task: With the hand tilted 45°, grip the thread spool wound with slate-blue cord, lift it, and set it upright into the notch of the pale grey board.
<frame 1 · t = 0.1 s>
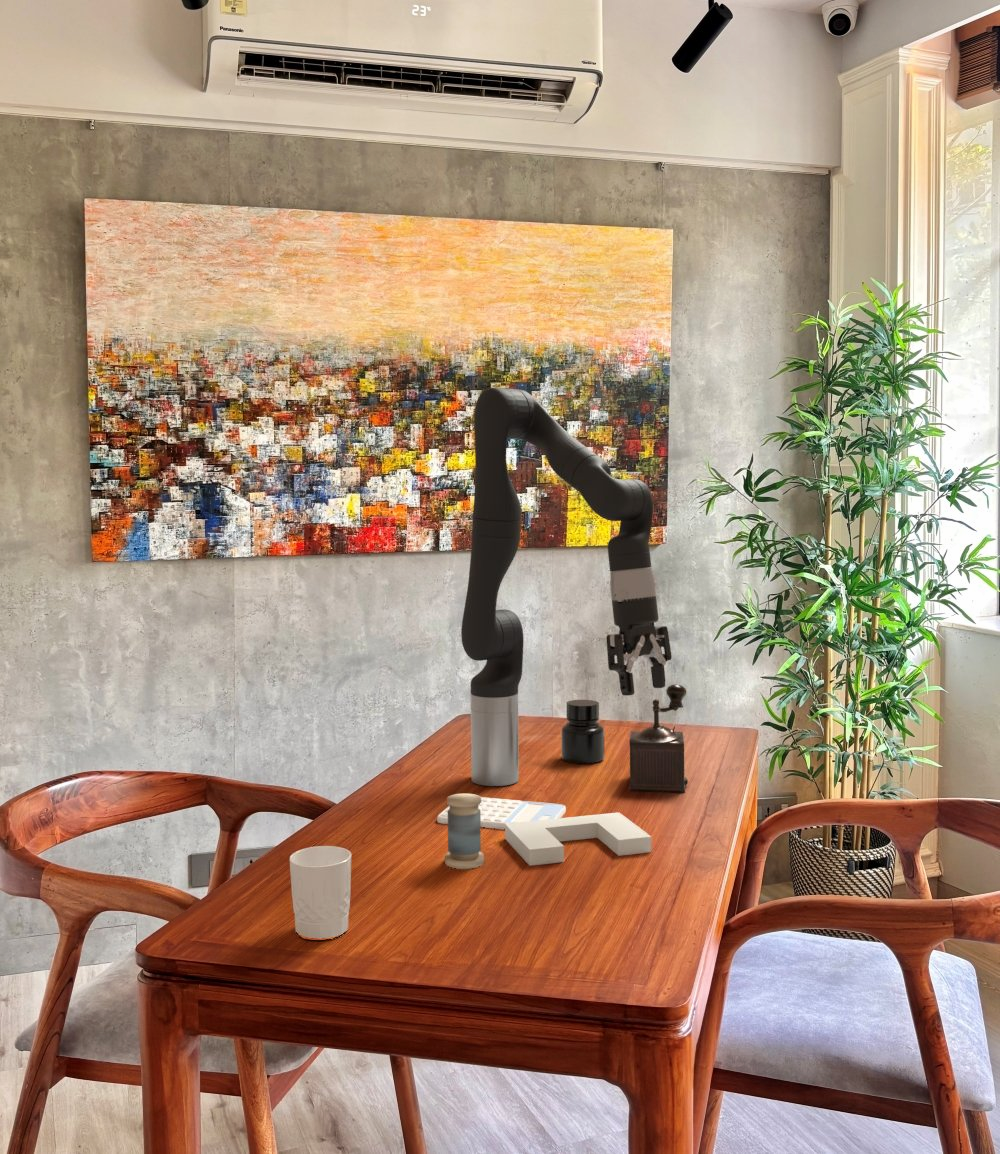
hand: (643, 691, 182), 22 cm above the table, tool pointing down, fingers open, 8 cm apart
calculator: (502, 820, 187), on the table
notched board: (576, 845, 172), on the table
thread spool: (464, 862, 165), on the table
ink bottle: (582, 760, 225), on the table
white cup: (322, 932, 140), on the table
manual coffee grinder: (658, 782, 209), on the table
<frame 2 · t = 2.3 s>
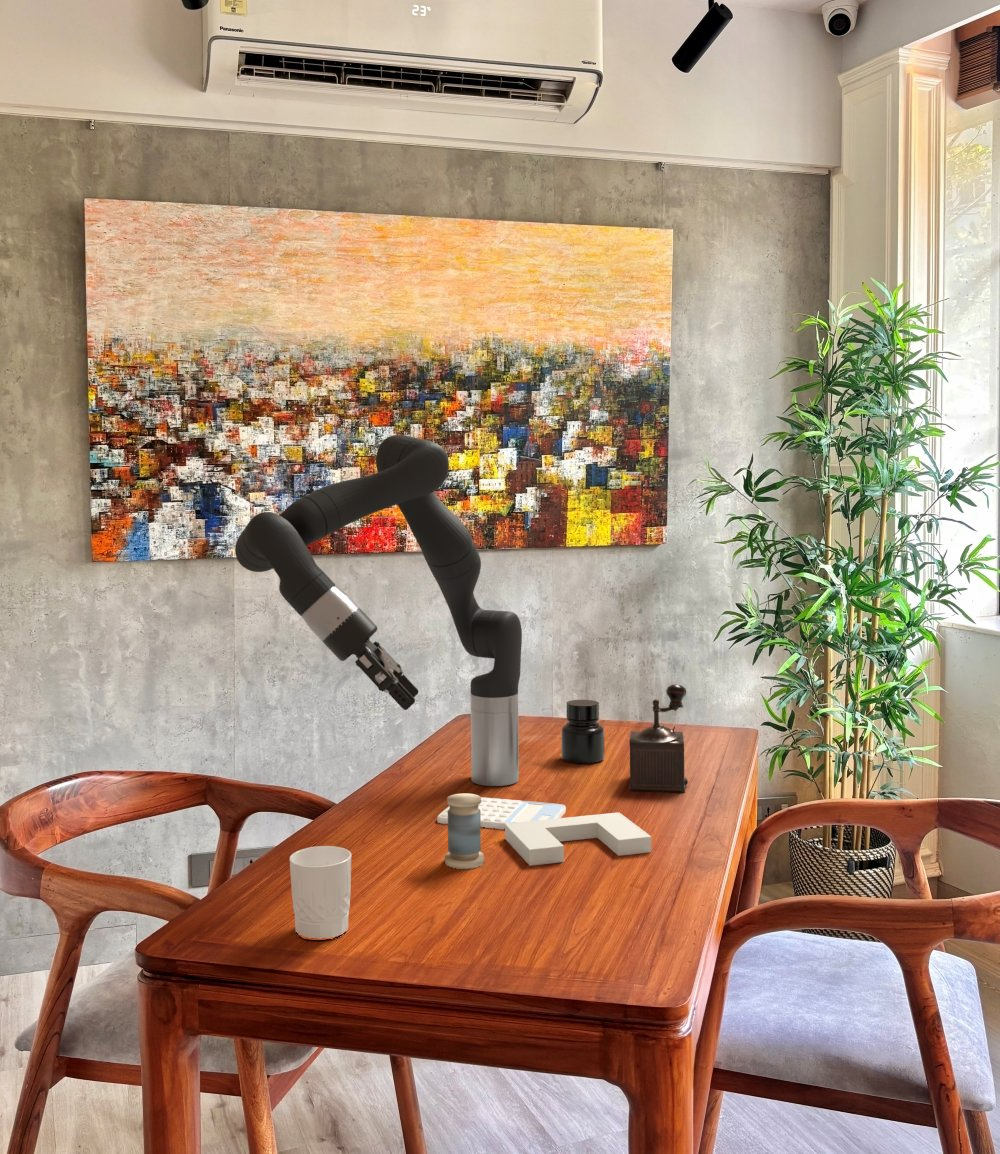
hand: (412, 701, 163), 25 cm above the table, tool tilted 40°, fingers open, 8 cm apart
nothing on the table moved.
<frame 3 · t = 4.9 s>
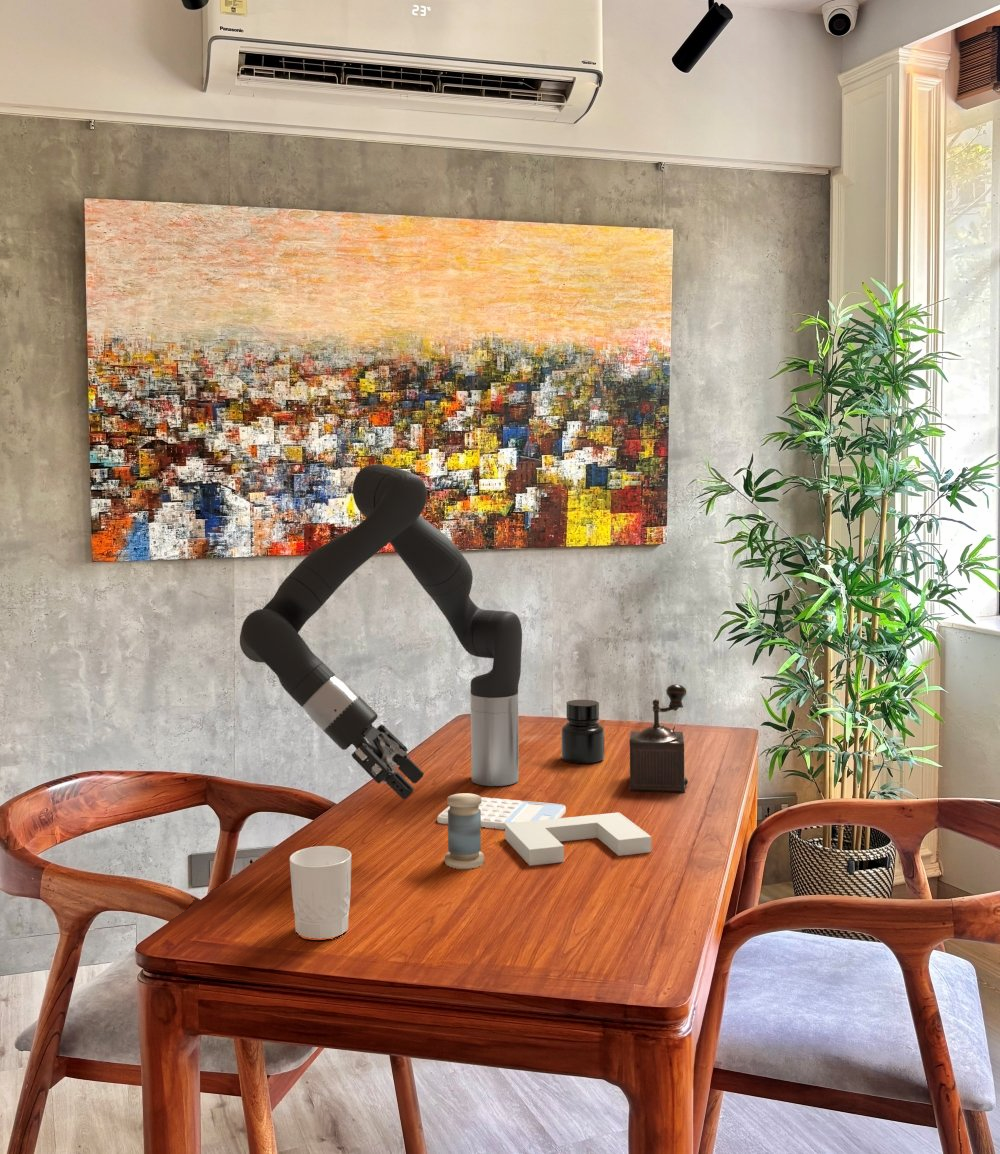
hand: (414, 786, 165), 12 cm above the table, tool tilted 45°, fingers open, 8 cm apart
nothing on the table moved.
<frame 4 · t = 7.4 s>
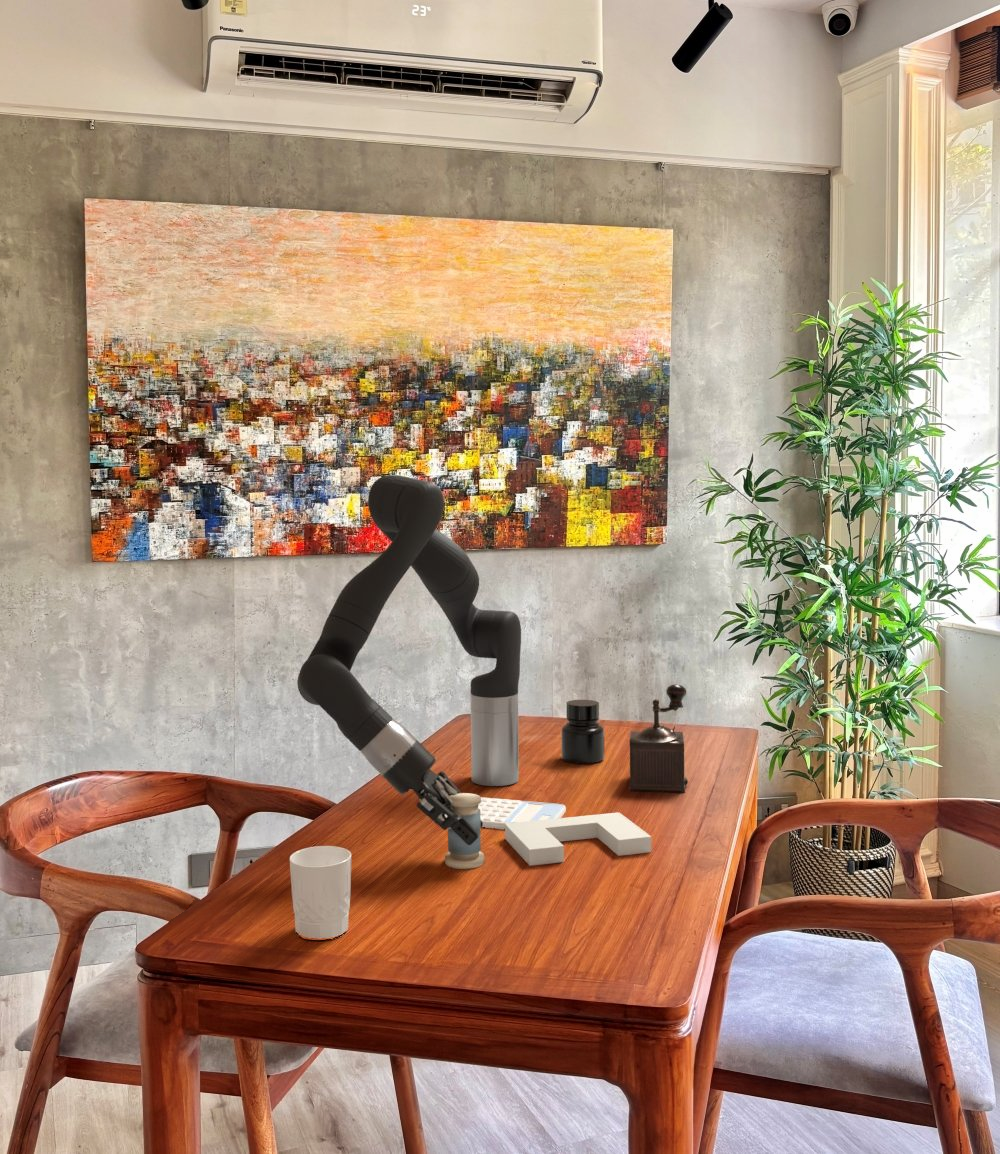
hand: (476, 834, 164), 4 cm above the table, tool tilted 45°, fingers closed on thread spool, 5 cm apart
thread spool: (464, 862, 165), on the table, touching gripper
everything else where it was.
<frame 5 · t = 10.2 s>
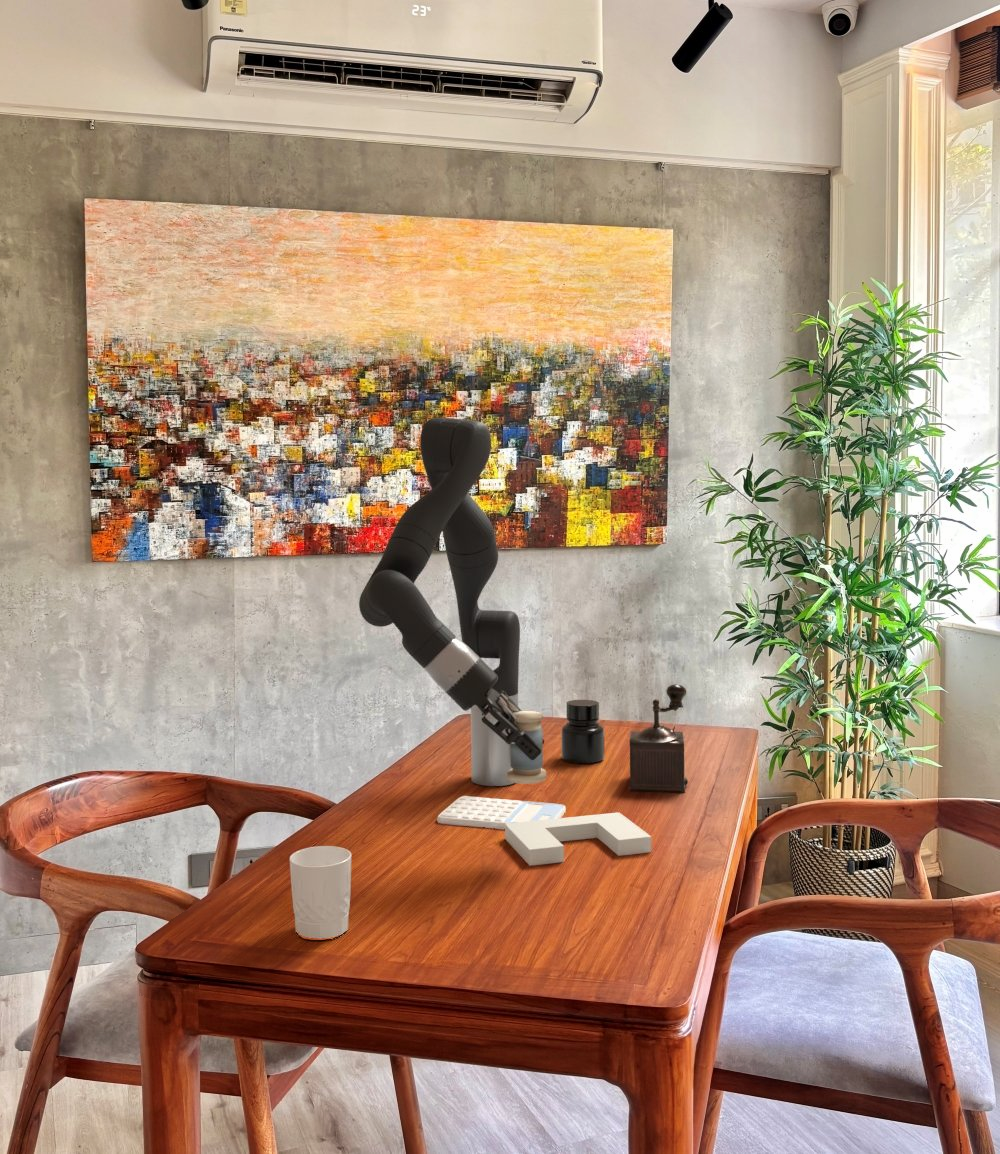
hand: (538, 750, 166), 17 cm above the table, tool tilted 45°, fingers closed on thread spool, 5 cm apart
thread spool: (526, 778, 167), point 12 cm above the table, touching gripper
everything else where it was.
when the fingers open (5 cm above the table, at t = 13.0 s): thread spool drops 1 cm, on the table.
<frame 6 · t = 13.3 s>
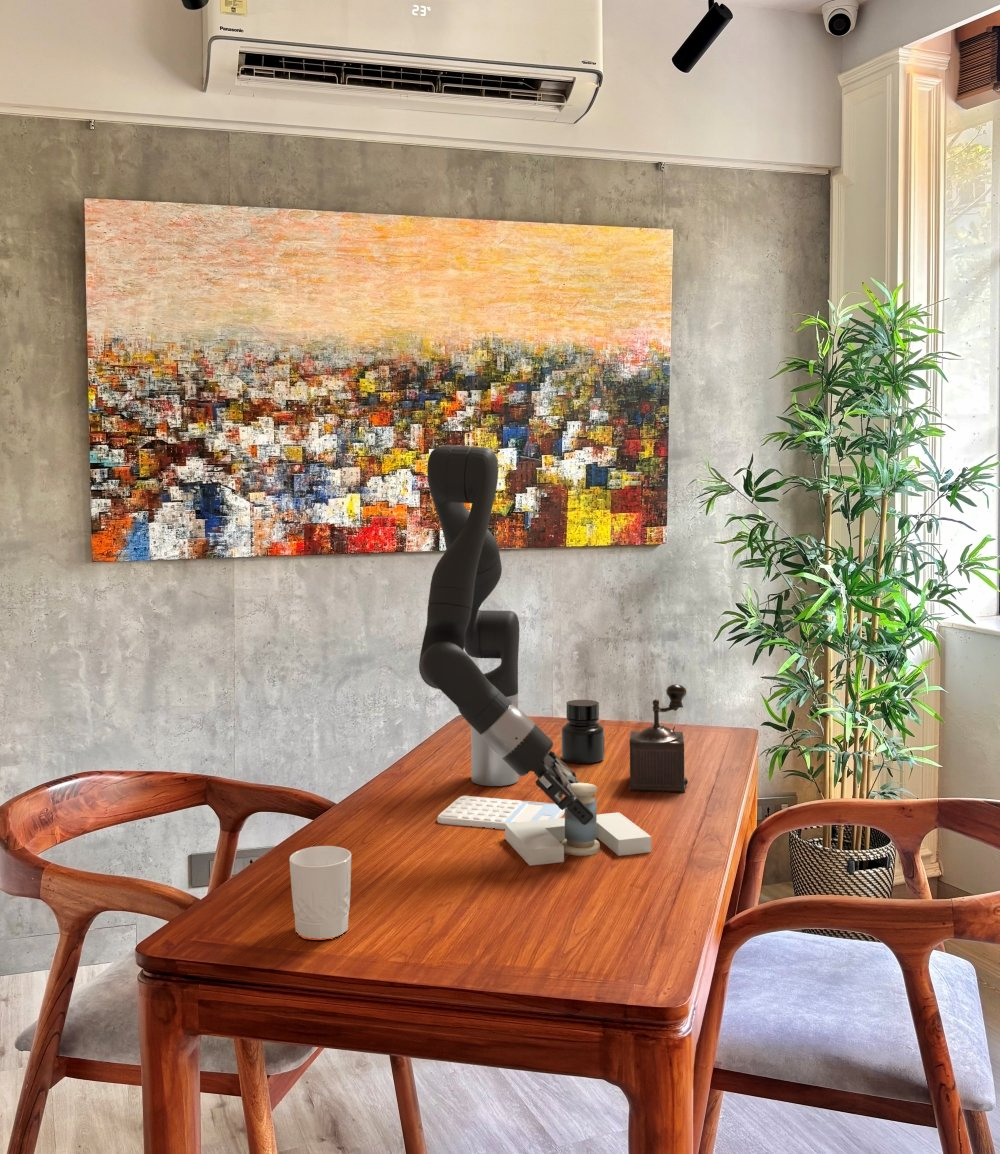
hand: (590, 812, 169), 6 cm above the table, tool tilted 45°, fingers open, 8 cm apart
thread spool: (580, 849, 170), on the table
everything else where it was.
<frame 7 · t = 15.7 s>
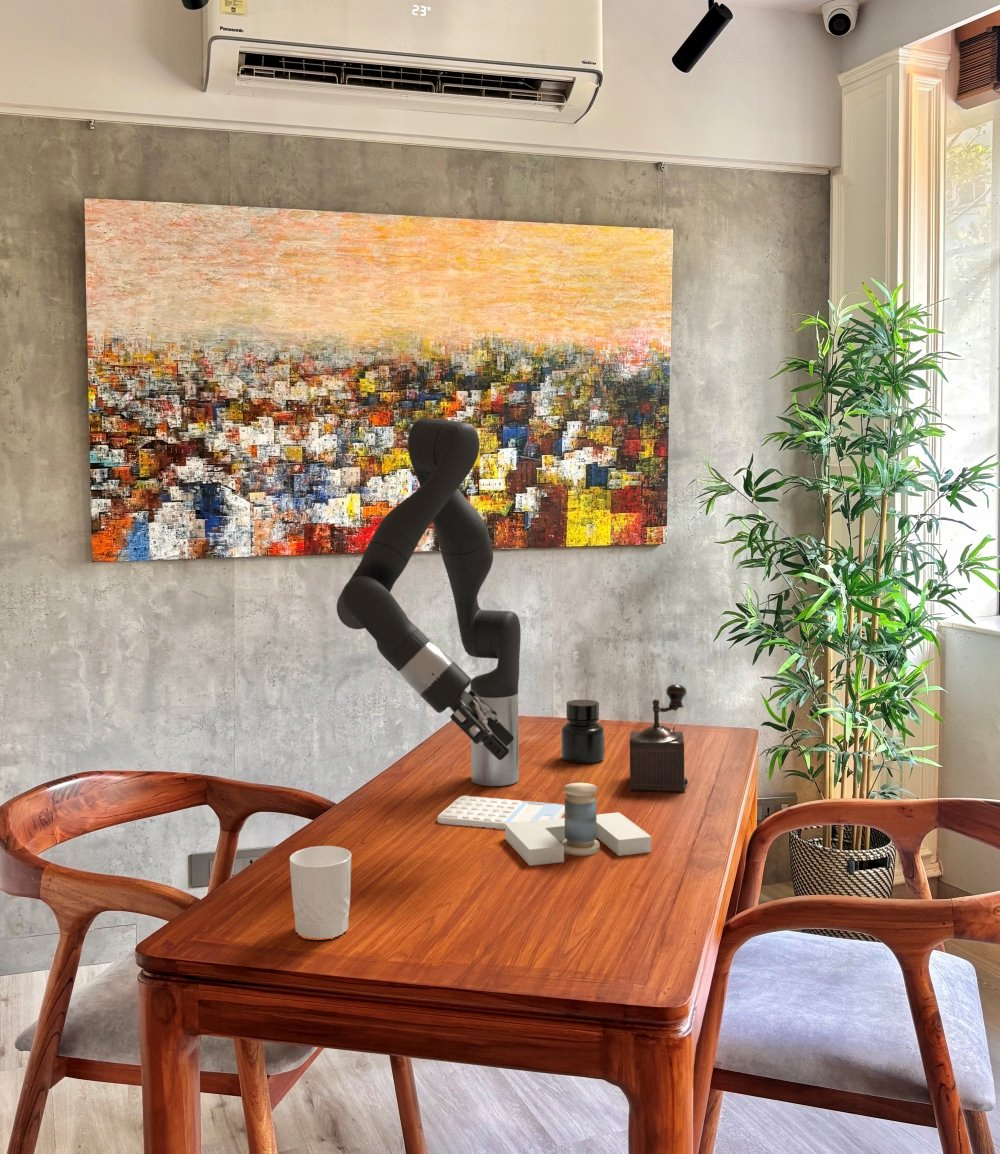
hand: (507, 749, 170), 16 cm above the table, tool tilted 45°, fingers open, 8 cm apart
nothing on the table moved.
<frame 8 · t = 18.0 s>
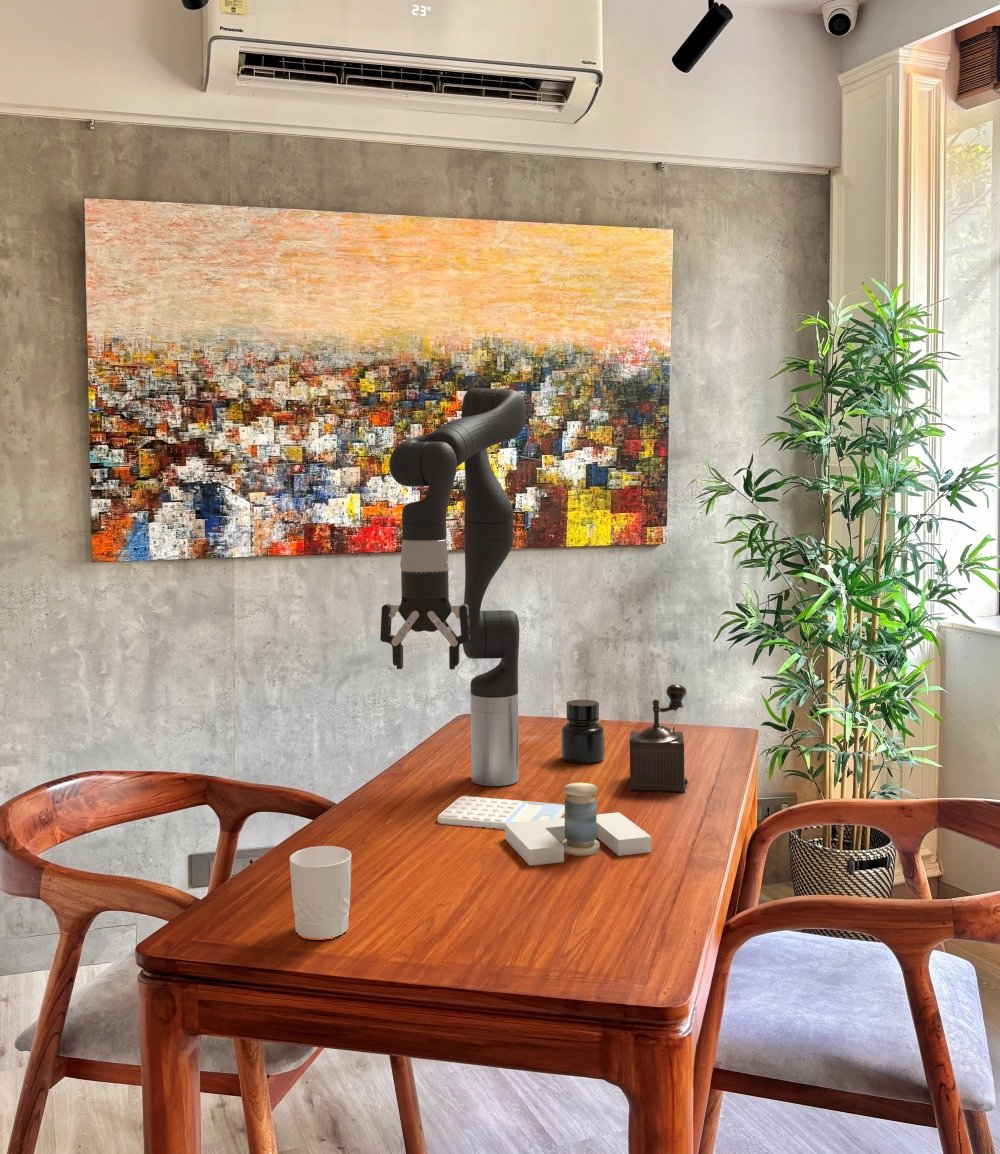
hand: (426, 668, 173), 28 cm above the table, tool pointing down, fingers open, 8 cm apart
nothing on the table moved.
at the end: thread spool 0.1 cm from the target spot on the notched board, point 0.0 cm above the notched board's base; thread spool tilted 0°; the gripper is holding nothing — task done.
